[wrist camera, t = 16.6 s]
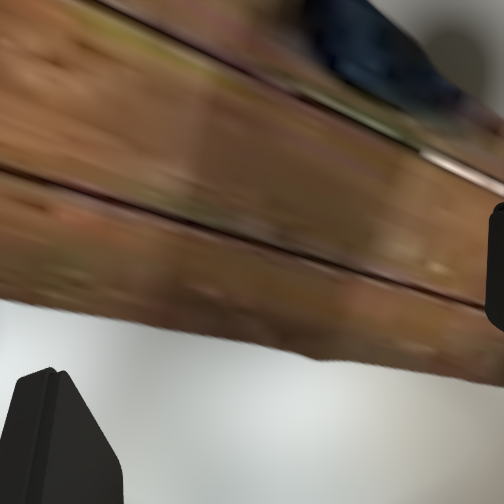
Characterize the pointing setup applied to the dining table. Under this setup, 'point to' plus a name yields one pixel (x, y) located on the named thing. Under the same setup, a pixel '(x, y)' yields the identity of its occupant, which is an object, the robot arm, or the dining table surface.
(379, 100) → the dining table surface
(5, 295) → the dining table surface
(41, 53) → the dining table surface
